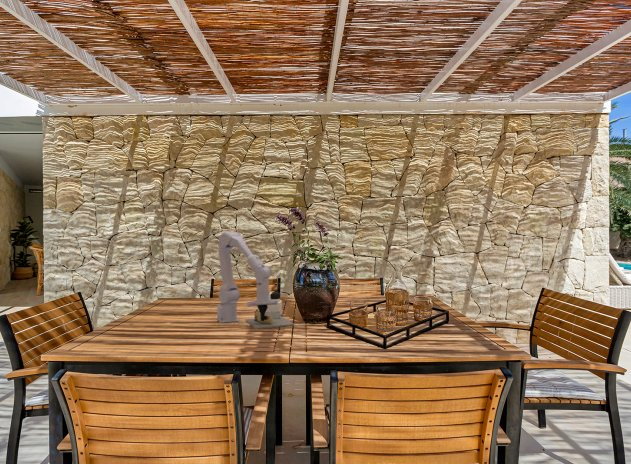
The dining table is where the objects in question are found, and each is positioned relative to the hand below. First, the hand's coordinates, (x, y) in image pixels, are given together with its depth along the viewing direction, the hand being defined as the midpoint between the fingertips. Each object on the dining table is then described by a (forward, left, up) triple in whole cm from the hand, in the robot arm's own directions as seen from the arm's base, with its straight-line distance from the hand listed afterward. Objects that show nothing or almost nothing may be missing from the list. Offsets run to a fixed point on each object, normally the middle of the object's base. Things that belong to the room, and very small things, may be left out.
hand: (262, 320), depth 222 cm
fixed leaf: (+5, +7, -1) cm, 9 cm away
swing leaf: (+1, +2, -1) cm, 3 cm away
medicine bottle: (+12, +21, -2) cm, 25 cm away
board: (+4, +3, -2) cm, 6 cm away
